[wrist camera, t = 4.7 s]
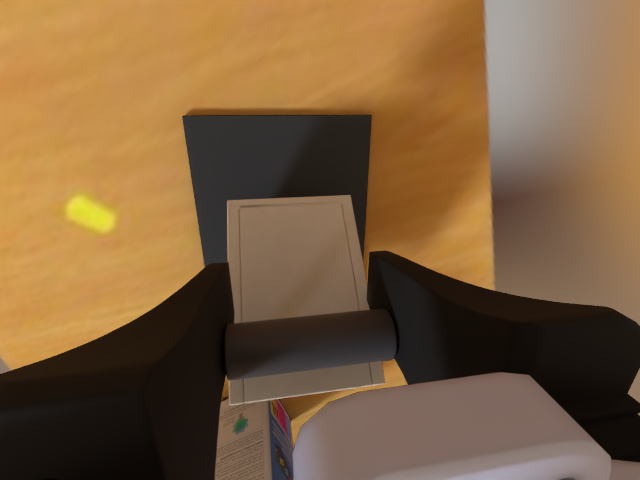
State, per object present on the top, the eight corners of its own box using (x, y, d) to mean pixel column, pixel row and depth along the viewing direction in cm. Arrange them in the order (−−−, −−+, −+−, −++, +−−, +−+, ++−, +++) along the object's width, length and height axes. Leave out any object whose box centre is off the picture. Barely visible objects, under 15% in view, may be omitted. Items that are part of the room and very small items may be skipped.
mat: (356, 352, 25) (357, 356, 25) (221, 369, 23) (220, 373, 23) (369, 114, 18) (372, 114, 18) (183, 115, 17) (182, 115, 17)
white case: (350, 386, 18) (416, 382, 9) (246, 400, 17) (213, 410, 8) (330, 249, 21) (365, 154, 12) (241, 255, 20) (215, 158, 12)
